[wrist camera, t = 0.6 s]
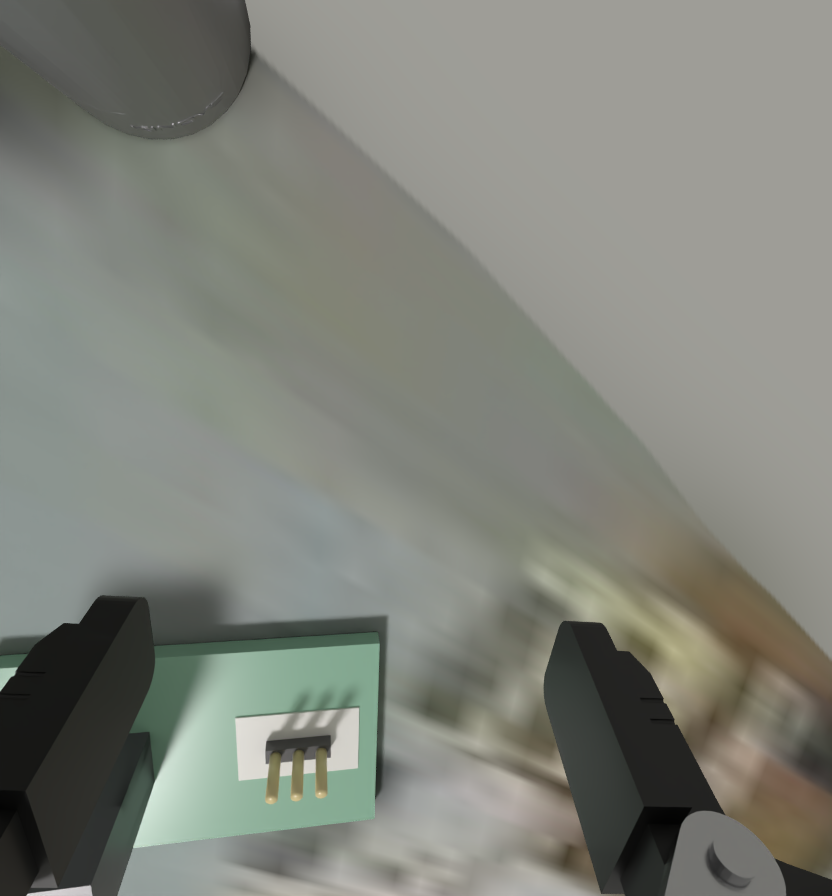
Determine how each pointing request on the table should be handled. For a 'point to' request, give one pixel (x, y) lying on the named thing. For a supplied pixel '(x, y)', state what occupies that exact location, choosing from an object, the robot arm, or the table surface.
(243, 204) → the table surface
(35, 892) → the block
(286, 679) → the pale green flat block
